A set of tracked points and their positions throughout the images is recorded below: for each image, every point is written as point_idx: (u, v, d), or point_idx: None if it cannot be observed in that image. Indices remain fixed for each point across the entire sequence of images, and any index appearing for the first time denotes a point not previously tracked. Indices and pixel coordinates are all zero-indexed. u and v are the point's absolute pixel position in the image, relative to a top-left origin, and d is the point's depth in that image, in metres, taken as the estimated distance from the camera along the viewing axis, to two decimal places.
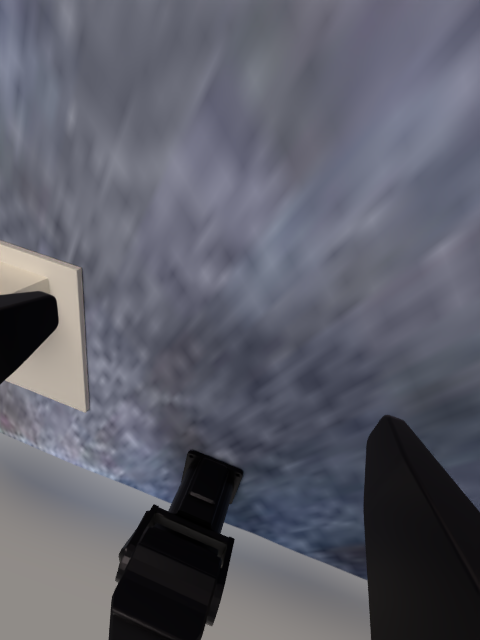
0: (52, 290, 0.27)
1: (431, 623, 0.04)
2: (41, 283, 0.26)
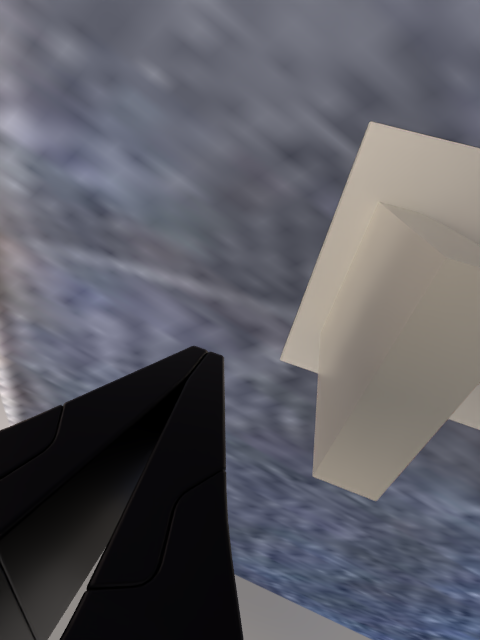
0: (404, 201, 0.14)
1: None
2: (386, 204, 0.14)
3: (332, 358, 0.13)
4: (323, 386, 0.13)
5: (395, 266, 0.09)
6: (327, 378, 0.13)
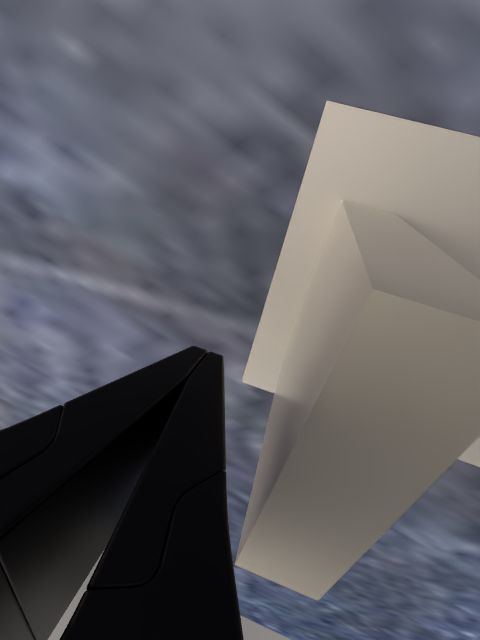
0: (372, 199, 0.12)
1: None
2: (348, 203, 0.11)
3: (280, 393, 0.11)
4: (269, 428, 0.11)
5: (334, 286, 0.07)
6: (272, 420, 0.10)
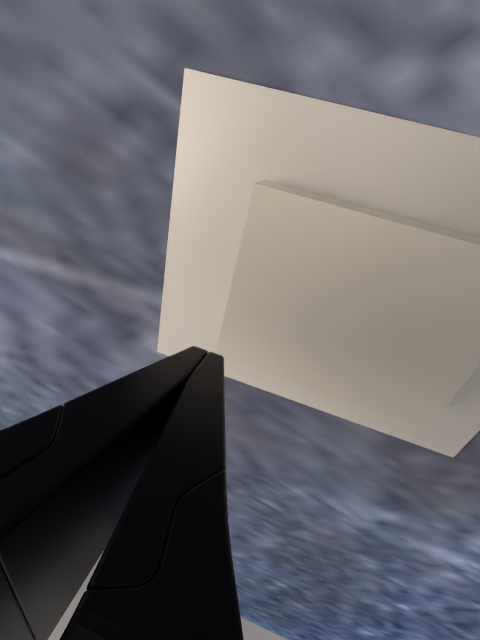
0: (239, 164, 0.13)
1: None
2: (276, 188, 0.11)
3: (338, 366, 0.13)
4: (345, 390, 0.13)
5: (449, 273, 0.10)
6: (351, 382, 0.13)
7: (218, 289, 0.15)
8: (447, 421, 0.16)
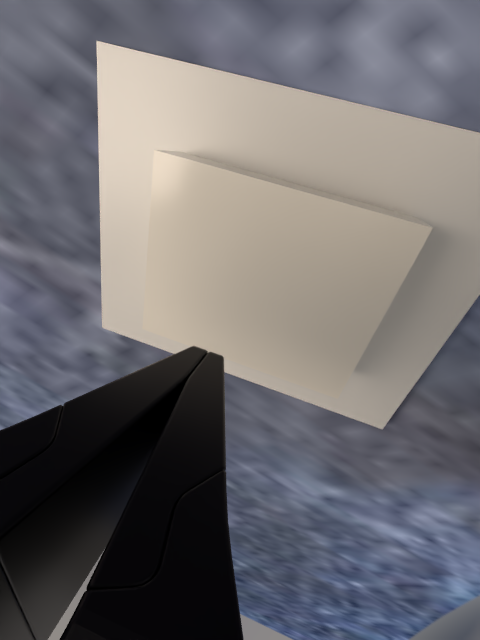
0: (156, 136, 0.13)
1: None
2: (175, 155, 0.11)
3: (253, 333, 0.13)
4: (263, 357, 0.14)
5: (337, 236, 0.11)
6: (266, 349, 0.14)
7: None
8: (373, 392, 0.16)
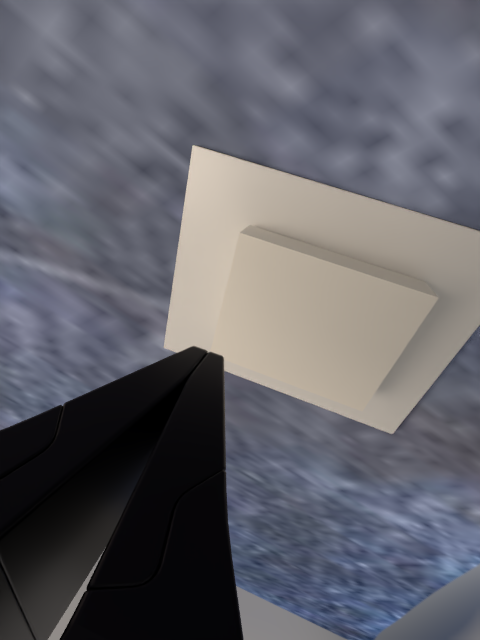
0: (231, 211, 0.17)
1: None
2: (254, 236, 0.15)
3: (300, 361, 0.18)
4: (306, 378, 0.18)
5: (370, 298, 0.15)
6: (309, 373, 0.18)
7: (213, 300, 0.20)
8: (386, 405, 0.20)
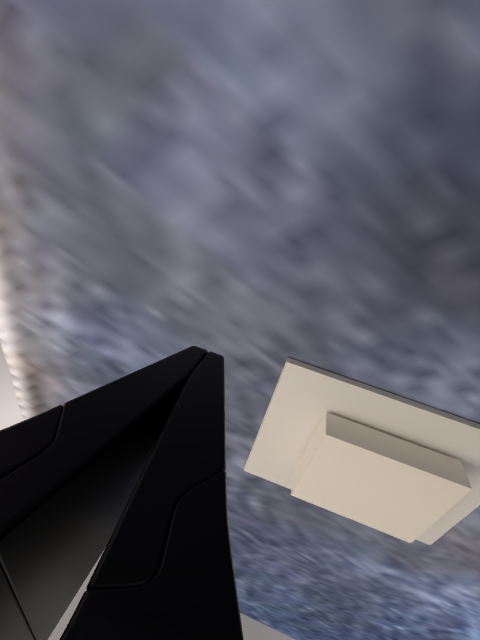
0: (311, 400, 0.23)
1: None
2: (336, 435, 0.21)
3: (364, 508, 0.23)
4: (367, 519, 0.24)
5: (421, 482, 0.21)
6: (371, 516, 0.24)
7: (290, 448, 0.26)
8: None
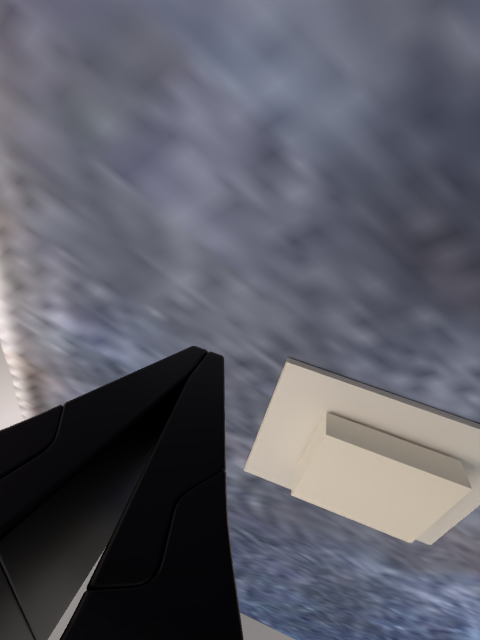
0: (311, 400, 0.23)
1: None
2: (336, 435, 0.21)
3: (364, 508, 0.23)
4: (367, 519, 0.24)
5: (422, 482, 0.21)
6: (371, 516, 0.24)
7: (290, 448, 0.26)
8: None
